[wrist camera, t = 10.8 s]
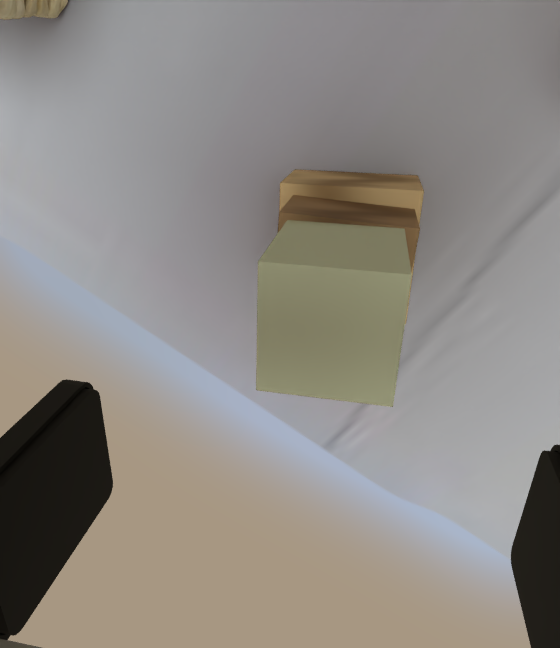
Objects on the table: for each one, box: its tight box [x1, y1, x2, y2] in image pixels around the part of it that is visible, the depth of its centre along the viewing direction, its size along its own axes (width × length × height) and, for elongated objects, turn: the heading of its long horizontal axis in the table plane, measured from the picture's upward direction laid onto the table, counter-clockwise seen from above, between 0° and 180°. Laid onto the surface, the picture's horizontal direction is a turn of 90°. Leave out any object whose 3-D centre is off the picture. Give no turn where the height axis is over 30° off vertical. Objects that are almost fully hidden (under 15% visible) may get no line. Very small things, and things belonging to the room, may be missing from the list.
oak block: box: [279, 169, 424, 324], centre depth 29 cm, size 7×7×5 cm
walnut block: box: [278, 195, 420, 272], centre depth 25 cm, size 6×6×4 cm
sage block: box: [256, 220, 412, 407], centre depth 21 cm, size 5×5×6 cm
